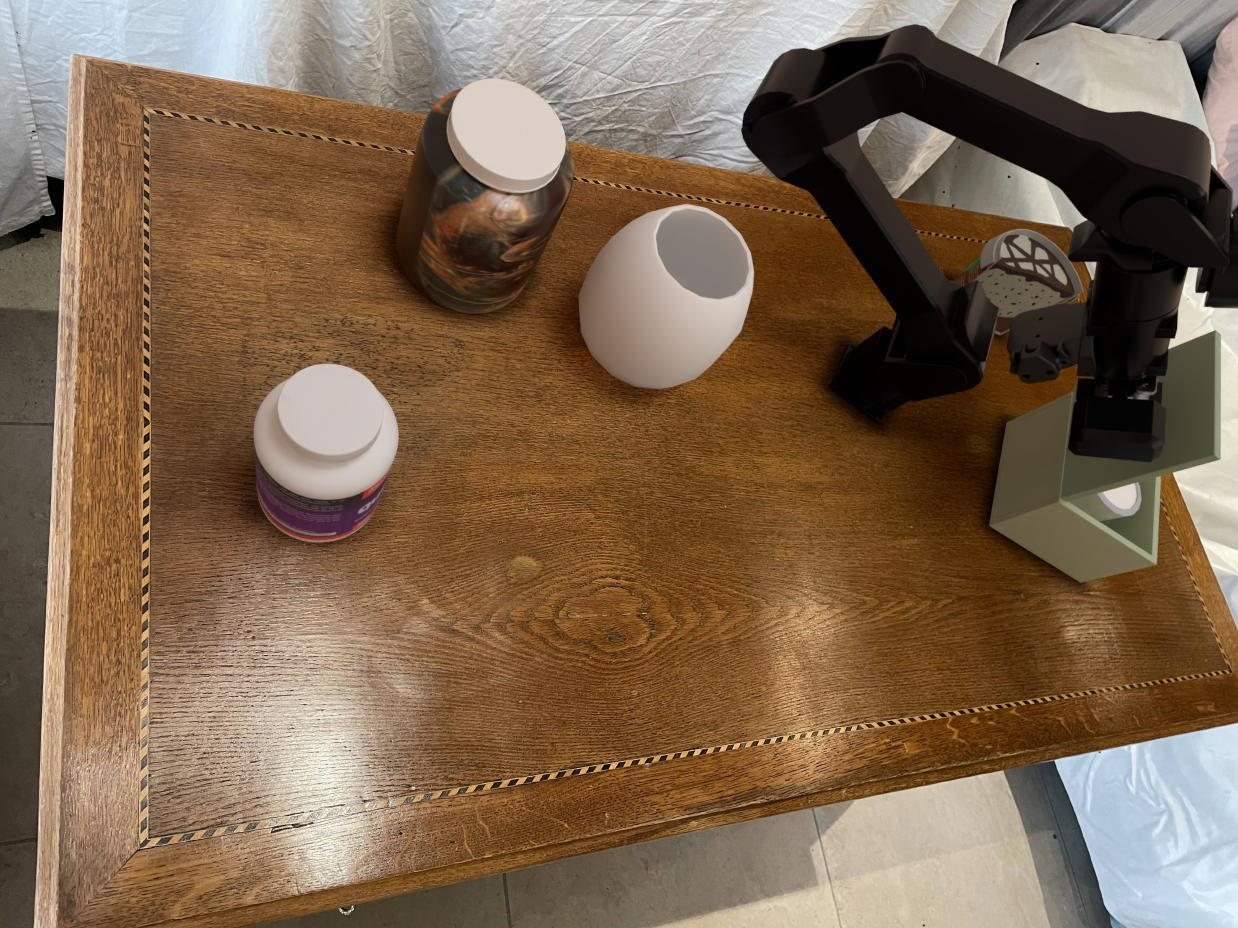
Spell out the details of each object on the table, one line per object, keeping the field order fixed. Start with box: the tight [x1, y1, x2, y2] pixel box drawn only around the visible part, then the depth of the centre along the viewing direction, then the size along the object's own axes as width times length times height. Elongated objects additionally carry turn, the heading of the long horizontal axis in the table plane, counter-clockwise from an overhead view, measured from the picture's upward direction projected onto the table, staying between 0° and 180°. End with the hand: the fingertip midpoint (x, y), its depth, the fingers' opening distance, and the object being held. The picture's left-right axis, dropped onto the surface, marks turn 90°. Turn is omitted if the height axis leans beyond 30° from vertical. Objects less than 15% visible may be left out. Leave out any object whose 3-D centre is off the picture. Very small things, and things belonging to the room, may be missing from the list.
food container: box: [952, 228, 1084, 336], centre depth 86 cm, size 12×6×10 cm, turn 84°
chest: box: [988, 391, 1162, 584], centre depth 80 cm, size 12×13×8 cm
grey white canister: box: [1068, 482, 1141, 522], centre depth 80 cm, size 7×7×7 cm
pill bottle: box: [253, 363, 400, 543], centre depth 49 cm, size 8×8×14 cm
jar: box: [396, 77, 575, 315], centre depth 60 cm, size 12×12×15 cm
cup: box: [578, 203, 755, 390], centre depth 65 cm, size 13×13×14 cm
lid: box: [1061, 329, 1222, 502], centre depth 69 cm, size 13×13×1 cm
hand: (1109, 426), depth 71 cm, fingers closed, pressing on lid
